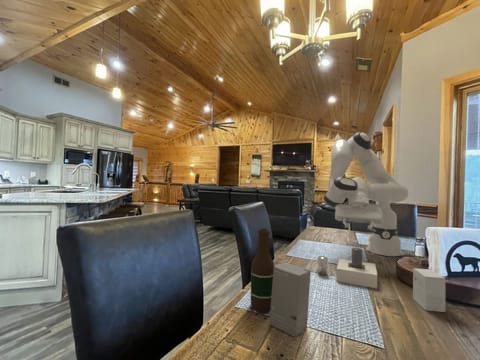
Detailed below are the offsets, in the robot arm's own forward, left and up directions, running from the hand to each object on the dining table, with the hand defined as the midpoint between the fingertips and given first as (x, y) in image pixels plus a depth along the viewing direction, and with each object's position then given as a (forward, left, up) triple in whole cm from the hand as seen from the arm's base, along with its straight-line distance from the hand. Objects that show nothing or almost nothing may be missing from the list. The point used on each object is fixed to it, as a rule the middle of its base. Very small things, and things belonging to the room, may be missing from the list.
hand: (358, 228), depth 112 cm
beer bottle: (+52, -26, -18) cm, 61 cm away
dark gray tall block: (+12, 0, -18) cm, 22 cm away
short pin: (+14, -13, -18) cm, 26 cm away
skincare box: (+58, -16, -19) cm, 63 cm away
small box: (+26, +21, -19) cm, 38 cm away
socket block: (+12, 0, -18) cm, 22 cm away
